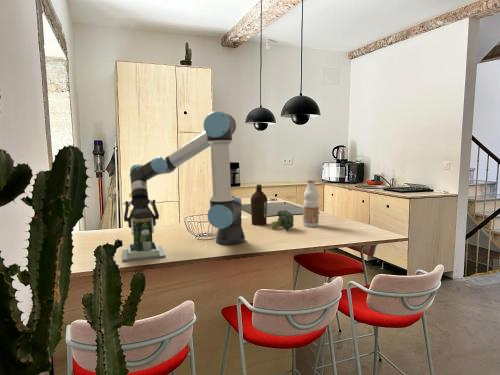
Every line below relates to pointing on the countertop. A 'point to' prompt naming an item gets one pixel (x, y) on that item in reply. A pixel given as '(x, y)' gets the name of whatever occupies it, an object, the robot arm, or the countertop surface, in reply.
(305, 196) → the fruit juice
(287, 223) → the vegetable
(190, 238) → the countertop surface
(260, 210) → the olive oil
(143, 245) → the coffee jar
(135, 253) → the jar dock
